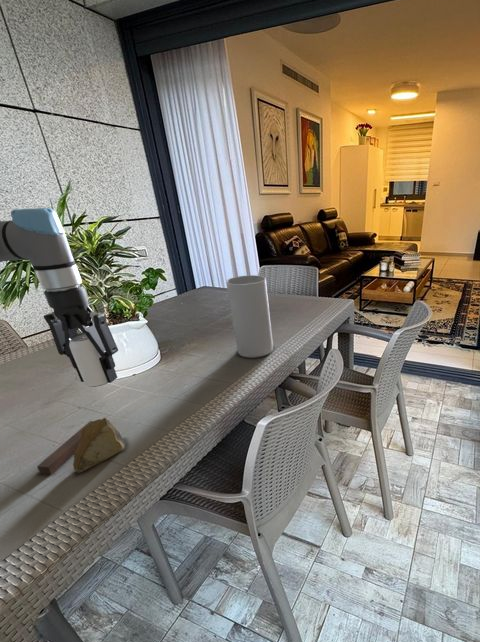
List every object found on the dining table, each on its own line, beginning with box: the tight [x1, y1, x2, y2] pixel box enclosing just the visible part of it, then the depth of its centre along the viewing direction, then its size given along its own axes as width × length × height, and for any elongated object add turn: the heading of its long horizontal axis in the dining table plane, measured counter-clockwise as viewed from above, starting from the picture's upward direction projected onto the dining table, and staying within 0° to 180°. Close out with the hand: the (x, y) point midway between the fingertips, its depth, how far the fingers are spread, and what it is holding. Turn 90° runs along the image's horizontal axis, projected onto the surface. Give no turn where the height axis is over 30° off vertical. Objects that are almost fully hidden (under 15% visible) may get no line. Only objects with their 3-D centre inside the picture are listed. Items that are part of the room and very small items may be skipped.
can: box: [69, 332, 109, 388], centre depth 85 cm, size 6×6×12 cm
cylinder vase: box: [225, 274, 274, 359], centre depth 119 cm, size 12×12×25 cm
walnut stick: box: [36, 420, 94, 475], centre depth 80 cm, size 16×2×2 cm, turn 173°
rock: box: [72, 417, 126, 474], centre depth 76 cm, size 11×9×10 cm
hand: (99, 379), depth 87 cm, fingers closed on can, 6 cm apart
